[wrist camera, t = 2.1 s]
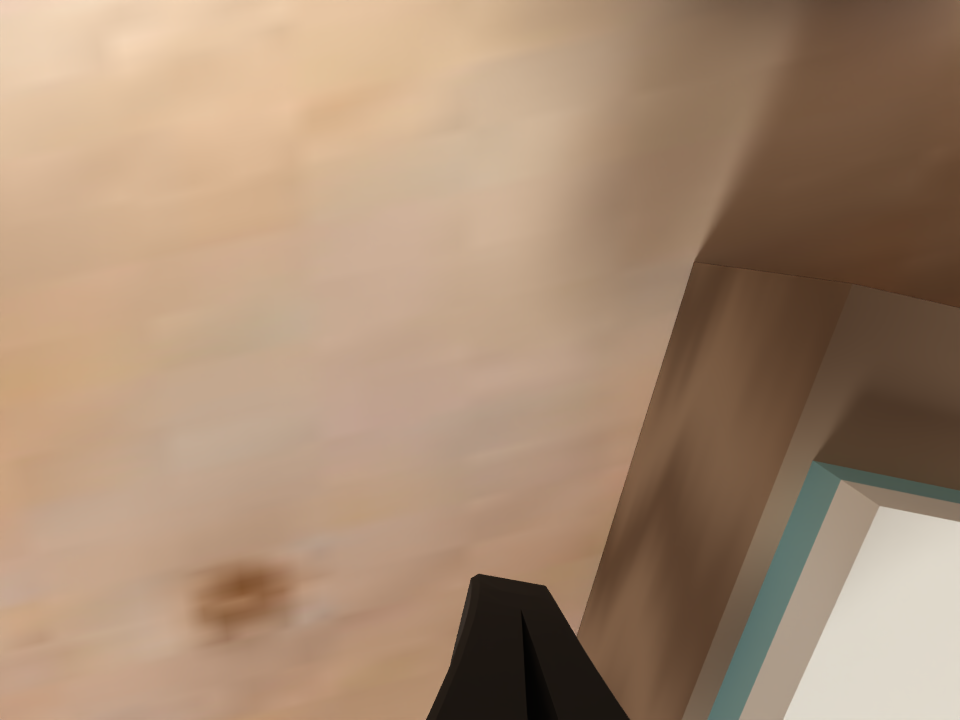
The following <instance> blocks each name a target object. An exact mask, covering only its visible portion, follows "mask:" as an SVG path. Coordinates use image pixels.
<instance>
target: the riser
mask: <svg viewBox="0 0 960 720" xmlns="http://www.w3.org/2000/svg"><path fill="white" fill-rule="evenodd" d="M812 461H817V462H822V463H827V464H832V465H837V466H842V467H847V468H852V469H856V470H861V471H866V472H871V473H876V474H881V475H886V476H891V477H896V478H901V479H906V480H910V481H915V482H920V483H925V484H930V485H935V486H940V487H945V488H950V489H955V490H959V491H960V308H958V307H954V306H949V305H945V304H940V303H936V302H932V301H927V300H923V299H918V298H914V297H910V296H905V295H901V294H896V293H892V292H888V291H883V290H879V289H874V288H870V287H865V286H861V285H857V284H852V283H845V282H837V281H830V280H823V279H815V278H808V277H801V276H793V275H786V274H778V273H771V272H764V271H756V270H749V269H742V268H734V267H727V266H720V265H712V264H705V263H697V262H694V265H693V268H692V271H691V274H690V277H689V281H688V284H687V287H686V290H685V293H684V297H683V300H682V303H681V306H680V309H679V313H678V316H677V319H676V322H675V325H674V329H673V332H672V335H671V338H670V341H669V345H668V348H667V351H666V354H665V357H664V360H663V364H662V367H661V370H660V373H659V376H658V380H657V383H656V386H655V389H654V392H653V396H652V399H651V402H650V405H649V408H648V412H647V415H646V418H645V421H644V424H643V427H642V431H641V434H640V437H639V440H638V443H637V447H636V450H635V453H634V456H633V459H632V463H631V466H630V469H629V472H628V475H627V479H626V482H625V485H624V488H623V491H622V495H621V498H620V501H619V504H618V507H617V510H616V514H615V517H614V520H613V523H612V526H611V530H610V533H609V536H608V539H607V542H606V546H605V549H604V552H603V555H602V558H601V562H600V565H599V568H598V571H597V574H596V577H595V581H594V584H593V587H592V590H591V593H590V597H589V600H588V603H587V606H586V609H585V613H584V616H583V619H582V622H581V625H580V629H579V632H578V635H577V638H578V640H579V642H580V643H581V645H582V647H583V648H584V650H585V652H586V653H587V655H588V656H589V658H590V660H591V661H592V663H593V664H594V666H595V667H596V669H597V670H598V672H599V674H600V675H601V677H602V678H603V680H604V681H605V683H606V684H607V686H608V687H609V689H610V690H611V692H612V693H613V695H614V696H615V698H616V700H617V701H618V703H619V704H620V705H621V707H622V708H623V710H624V711H625V713H626V714H627V716H628V717H629V719H630V720H707V719H708V717H709V714H710V712H711V709H712V707H713V704H714V702H715V699H716V697H717V695H718V692H719V690H720V687H721V685H722V682H723V680H724V677H725V675H726V672H727V670H728V668H729V665H730V663H731V660H732V658H733V655H734V653H735V650H736V648H737V645H738V643H739V641H740V638H741V636H742V633H743V631H744V628H745V626H746V623H747V621H748V618H749V616H750V613H751V611H752V609H753V606H754V604H755V601H756V599H757V596H758V594H759V591H760V589H761V586H762V584H763V582H764V579H765V577H766V574H767V572H768V569H769V567H770V564H771V562H772V559H773V557H774V555H775V552H776V550H777V547H778V545H779V542H780V540H781V537H782V535H783V532H784V530H785V527H786V525H787V523H788V520H789V518H790V515H791V513H792V510H793V508H794V505H795V503H796V500H797V498H798V496H799V493H800V491H801V488H802V486H803V483H804V481H805V478H806V476H807V473H808V471H809V469H810V466H811V464H812Z"/></svg>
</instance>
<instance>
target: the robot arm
mask: <svg viewBox="0 0 960 720" xmlns="http://www.w3.org/2000/svg"><path fill="white" fill-rule="evenodd" d="M426 720H630V719H629V717H628V716H627V714H626V713H625V711H624V710H623V708H622V707H621V705H620V704H619V703H618V701H617V700H616V698H615V696H614V695H613V693H612V692H611V690H610V689H609V687H608V686H607V684H606V683H605V681H604V680H603V678H602V677H601V675H600V674H599V672H598V670H597V669H596V667H595V666H594V664H593V663H592V661H591V660H590V658H589V656H588V655H587V653H586V652H585V650H584V648H583V647H582V645H581V643H580V642H579V640H578V638H577V637H576V635H575V634H574V632H573V630H572V629H571V627H570V625H569V624H568V622H567V620H566V619H565V617H564V615H563V613H562V612H561V610H560V608H559V607H558V605H557V603H556V602H555V600H554V598H553V597H552V595H551V593H550V592H549V590H548V589H547V587H546V586H544V585H538V584H533V583H527V582H521V581H516V580H510V579H505V578H499V577H494V576H488V575H483V574H477V575H476V576H474V577H472V578H471V580H470V584H469V589H468V593H467V597H466V601H465V605H464V609H463V613H462V618H461V622H460V626H459V630H458V634H457V638H456V642H455V647H454V651H453V655H452V659H451V665H450V667H449V670H448V672H447V674H446V677H445V679H444V681H443V683H442V686H441V688H440V690H439V692H438V695H437V697H436V699H435V701H434V704H433V706H432V708H431V710H430V713H429V715H428V717H427V719H426Z"/></svg>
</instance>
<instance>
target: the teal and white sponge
mask: <svg viewBox="0 0 960 720" xmlns="http://www.w3.org/2000/svg"><path fill="white" fill-rule="evenodd" d="M707 720H960V491H959V490H955V489H950V488H945V487H940V486H935V485H930V484H925V483H920V482H915V481H910V480H906V479H901V478H896V477H891V476H886V475H881V474H876V473H871V472H866V471H861V470H856V469H852V468H847V467H842V466H837V465H832V464H827V463H822V462H817V461H812V464H811V466H810V469H809V471H808V473H807V476H806V478H805V481H804V483H803V486H802V488H801V491H800V493H799V496H798V498H797V500H796V503H795V505H794V508H793V510H792V513H791V515H790V518H789V520H788V523H787V525H786V527H785V530H784V532H783V535H782V537H781V540H780V542H779V545H778V547H777V550H776V552H775V555H774V557H773V559H772V562H771V564H770V567H769V569H768V572H767V574H766V577H765V579H764V582H763V584H762V586H761V589H760V591H759V594H758V596H757V599H756V601H755V604H754V606H753V609H752V611H751V613H750V616H749V618H748V621H747V623H746V626H745V628H744V631H743V633H742V636H741V638H740V641H739V643H738V645H737V648H736V650H735V653H734V655H733V658H732V660H731V663H730V665H729V668H728V670H727V672H726V675H725V677H724V680H723V682H722V685H721V687H720V690H719V692H718V695H717V697H716V699H715V702H714V704H713V707H712V709H711V712H710V714H709V717H708V719H707Z"/></svg>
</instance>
